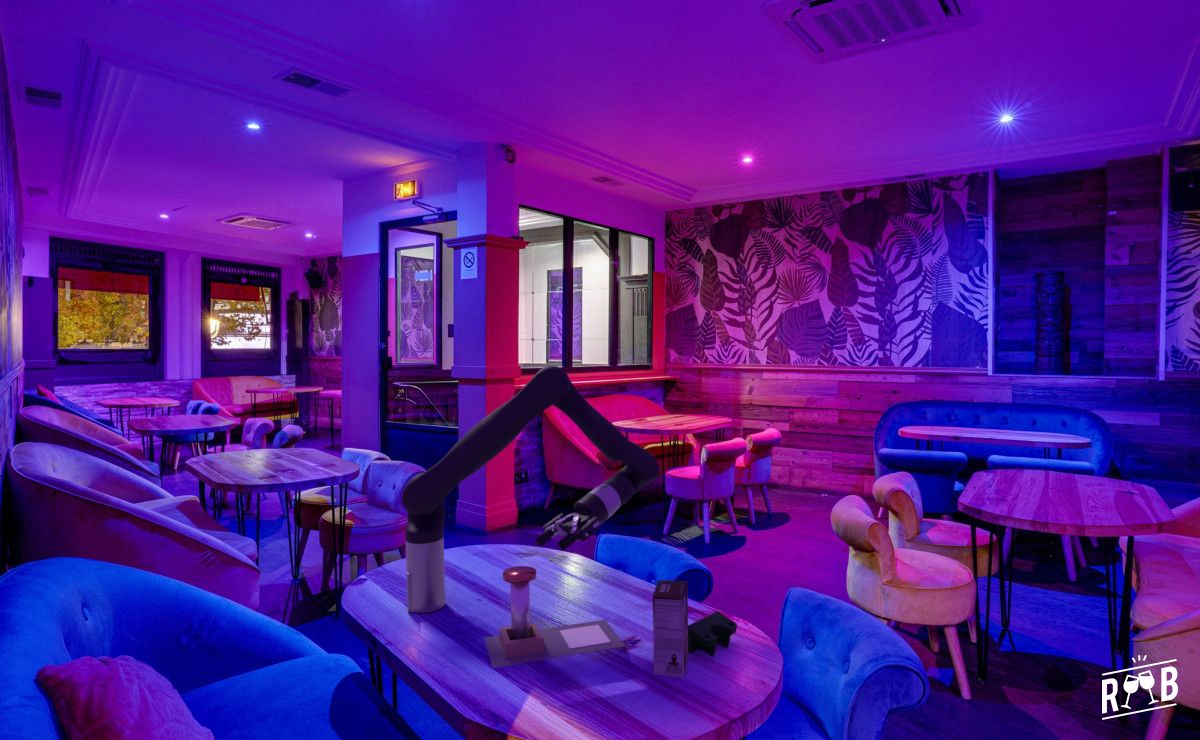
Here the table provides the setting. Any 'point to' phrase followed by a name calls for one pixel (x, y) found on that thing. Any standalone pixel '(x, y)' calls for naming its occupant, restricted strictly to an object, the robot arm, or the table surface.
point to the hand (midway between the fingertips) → (548, 545)
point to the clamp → (710, 633)
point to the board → (551, 643)
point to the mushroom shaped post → (520, 599)
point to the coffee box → (670, 628)
